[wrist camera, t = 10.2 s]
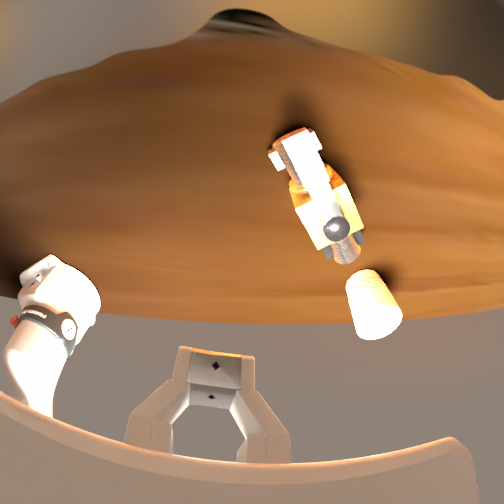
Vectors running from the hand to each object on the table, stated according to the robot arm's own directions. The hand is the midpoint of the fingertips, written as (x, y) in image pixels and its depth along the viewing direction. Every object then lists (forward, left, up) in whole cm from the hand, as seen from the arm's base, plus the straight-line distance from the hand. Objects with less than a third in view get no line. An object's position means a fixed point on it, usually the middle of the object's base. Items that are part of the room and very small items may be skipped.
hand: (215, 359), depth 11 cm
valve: (+10, -8, -31) cm, 34 cm away
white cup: (+17, -26, -31) cm, 44 cm away
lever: (+8, -3, -23) cm, 25 cm away
